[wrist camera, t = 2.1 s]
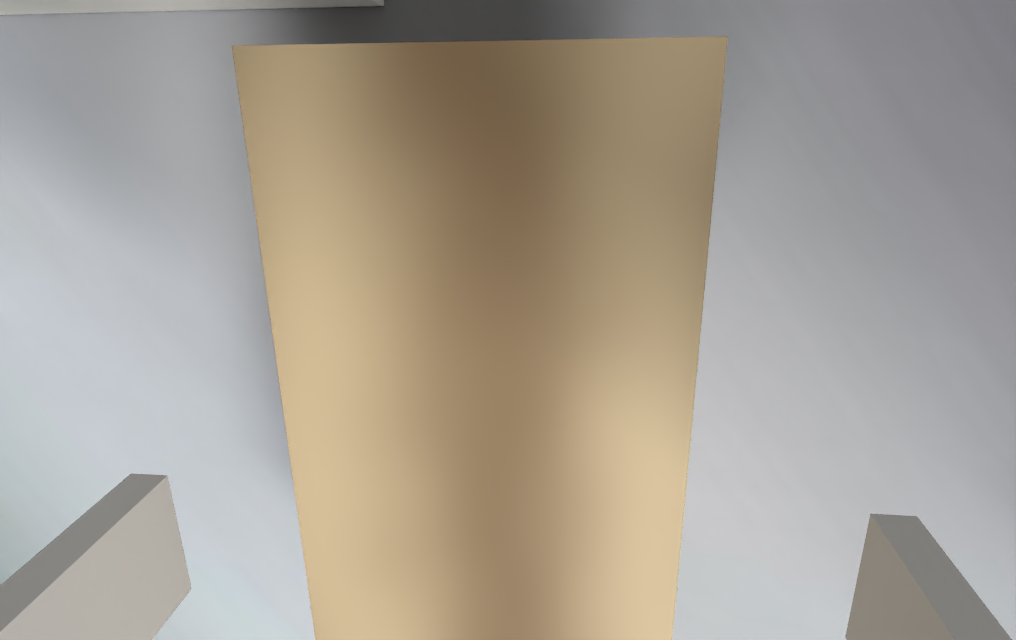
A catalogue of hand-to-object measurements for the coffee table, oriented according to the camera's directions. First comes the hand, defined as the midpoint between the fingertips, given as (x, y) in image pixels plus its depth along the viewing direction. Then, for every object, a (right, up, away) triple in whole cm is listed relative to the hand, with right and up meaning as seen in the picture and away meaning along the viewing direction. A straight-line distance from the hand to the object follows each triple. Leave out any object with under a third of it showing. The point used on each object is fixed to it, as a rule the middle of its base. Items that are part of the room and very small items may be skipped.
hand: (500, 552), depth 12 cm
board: (0, +1, +4) cm, 4 cm away
